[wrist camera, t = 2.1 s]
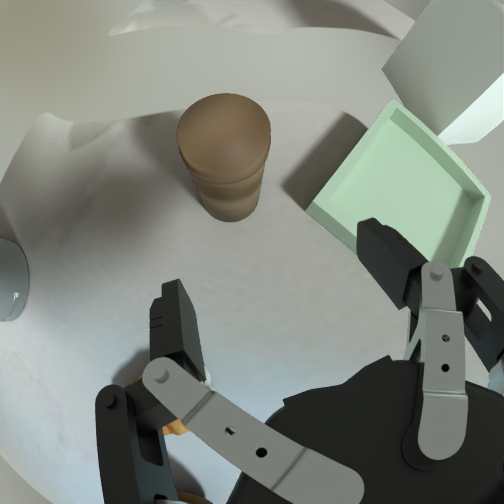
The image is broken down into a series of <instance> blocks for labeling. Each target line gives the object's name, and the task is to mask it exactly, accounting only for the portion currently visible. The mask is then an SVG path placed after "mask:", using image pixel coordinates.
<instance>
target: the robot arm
mask: <svg viewBox="0 0 504 504" xmlns="http://www.w3.org/2000/svg"><path fill="white" fill-rule="evenodd" d="M356 252H357V255H358V258H359V260H360V262H361V263H362V264H363V265H364V266H365V268H366V269H367V270H368V271H369V273H370V274H371V275H372V276H373V278H374V279H375V280H376V281H377V283H378V284H379V285H380V286H381V288H382V289H383V290H384V291H385V293H386V294H387V295H388V297H389V298H390V299H391V300H392V302H393V303H394V304H395V306H396V307H397V308H398V310H400V309H402V308H404V307H406V306H408V308H409V309H410V310H409V314H408V330H407V343H406V351H405V355H404V358H403V360H395V361H392V359H391V357H390V356H389V355H387V356H385V357H383V358H381V359H379V360H377V361H375V362H373V363H371V364H369V365H367V366H365V367H364V368H362V369H361V370H360V371H359V372H357V373H356V374H355V375H354V376H352V377H351V378H350V379H348V380H347V381H346V382H345V383H343V384H341V385H336V386H330V387H323V388H316V389H310V390H307V391H305V392H302V393H299V394H296V395H294V396H291V397H288V398H285V399H283V402H284V405H285V406H283V407H282V408H280V409H278V410H277V411H276V412H275V413H273V414H272V415H271V416H270V417H269V418H268V420H267V421H266V422H265V423H262V422H261V421H259V420H257V419H256V418H254V417H253V416H251V415H250V414H248V413H247V412H245V411H244V410H242V409H241V408H239V407H238V406H236V405H235V404H233V403H232V402H230V401H229V400H228V399H226V398H225V397H223V396H222V395H221V394H219V393H217V392H216V391H214V390H213V391H211V390H210V389H208V388H207V387H206V386H204V385H203V384H202V383H200V382H202V381H206V380H207V379H206V374H205V368H204V362H203V357H202V351H201V345H200V339H199V332H198V326H197V319H196V314H195V310H194V307H193V305H192V302H191V300H190V298H189V296H188V294H187V293H186V291H185V289H184V287H183V285H182V283H181V281H180V279H176V280H173V281H170V282H166V283H163V284H162V297H160V298H156V299H154V301H153V303H152V306H151V308H150V363H149V364H148V365H147V366H146V367H145V369H144V371H143V375H142V377H141V378H140V379H139V380H137V381H136V382H134V383H132V384H130V385H129V386H127V387H125V388H123V389H122V388H121V387H120V386H118V385H108V386H106V387H104V388H103V389H101V390H100V392H99V393H98V395H97V397H96V401H95V416H96V437H97V450H98V461H99V470H100V478H101V485H102V491H103V497H104V503H105V504H188V503H185V502H181V501H179V499H178V496H177V492H176V488H175V484H174V480H173V476H172V472H171V468H170V463H169V459H168V454H167V450H166V445H165V440H164V434H163V429H162V427H164V426H166V425H168V424H170V423H171V422H173V421H175V420H177V419H179V420H180V421H181V422H182V423H183V424H184V425H185V426H186V427H187V428H188V429H189V430H190V431H191V432H193V433H194V434H195V435H196V436H197V437H198V438H200V439H201V440H202V441H203V442H205V443H206V444H207V445H208V446H210V447H211V448H212V449H213V450H215V451H216V452H217V453H218V454H220V455H221V456H222V457H224V458H225V459H226V460H228V461H229V462H230V463H232V464H233V465H235V466H236V467H237V468H239V469H240V470H242V472H241V474H240V476H239V478H238V480H237V482H236V484H235V487H234V489H233V491H232V493H231V495H230V497H229V499H228V501H227V503H226V504H504V281H503V280H502V278H501V277H500V276H499V275H498V274H497V273H496V272H495V271H494V270H493V268H492V267H491V266H490V265H489V264H488V263H487V262H486V261H485V260H483V259H481V258H479V257H476V256H470V257H468V258H467V259H466V260H465V262H464V265H463V267H458V268H451V269H449V268H448V267H447V266H446V265H444V264H443V263H440V262H437V261H430V262H429V261H428V260H427V259H426V258H425V257H424V256H423V255H422V254H421V253H420V252H419V251H418V250H417V249H416V248H415V247H414V246H413V245H412V244H411V243H409V241H408V240H407V239H406V238H405V237H404V238H403V236H402V235H401V234H400V233H399V232H398V231H397V230H396V229H394V228H392V227H390V226H388V225H382V224H381V223H380V222H379V221H378V220H377V219H376V218H374V217H372V218H369V219H366V220H362V221H359V222H358V224H357V241H356ZM28 289H29V273H28V266H27V262H26V258H25V256H24V254H23V252H22V250H21V249H20V247H19V246H18V245H17V244H16V243H14V242H12V241H9V240H6V239H3V238H2V237H1V236H0V322H3V321H12V320H14V319H16V318H17V317H18V316H19V315H20V314H21V312H22V310H23V309H24V306H25V304H26V300H27V296H28ZM479 299H480V300H481V301H482V303H483V304H484V305H485V306H486V308H487V309H488V310H489V312H490V313H491V317H492V320H491V321H490V320H489V319H488V317H487V316H486V315H485V313H484V312H483V311H482V310H481V308H480V307H479V306H478V304H477V302H478V300H479ZM464 335H465V336H466V338H467V339H468V341H469V342H470V344H471V345H472V347H473V348H474V350H475V351H476V353H477V355H478V356H479V358H480V359H481V361H482V362H483V364H484V366H485V367H486V369H487V371H488V372H489V383H488V388H485V387H482V386H479V385H477V384H474V383H471V382H469V381H466V380H465V339H464Z"/></svg>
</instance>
